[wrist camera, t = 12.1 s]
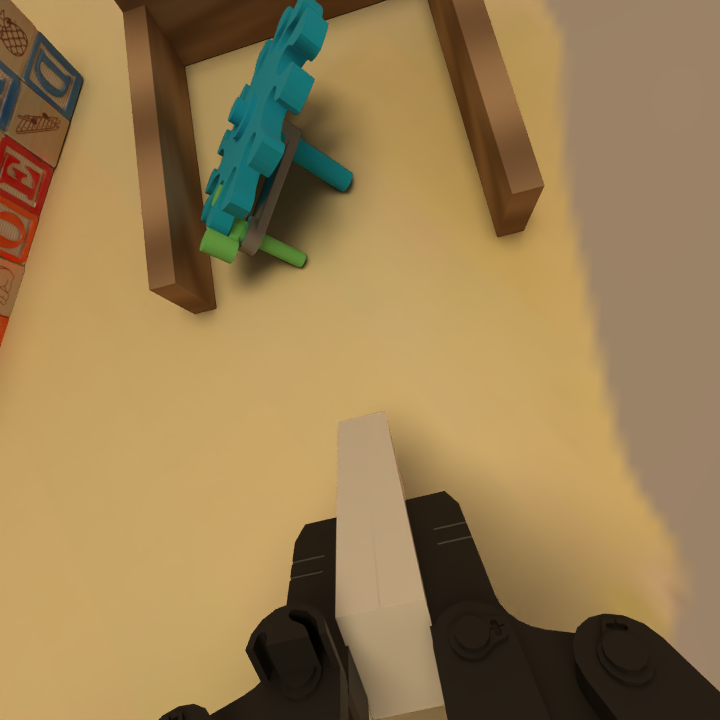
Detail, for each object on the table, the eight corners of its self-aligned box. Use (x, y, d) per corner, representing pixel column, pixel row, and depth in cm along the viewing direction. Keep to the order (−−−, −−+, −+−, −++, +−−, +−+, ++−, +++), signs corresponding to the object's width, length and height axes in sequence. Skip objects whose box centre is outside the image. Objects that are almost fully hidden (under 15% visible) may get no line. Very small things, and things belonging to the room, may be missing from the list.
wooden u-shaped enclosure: (523, 230, 19) (565, 139, 13) (194, 313, 21) (105, 266, 15) (440, -38, 23) (445, -203, 17) (163, 55, 24) (81, -65, 19)
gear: (243, 45, 22) (326, -88, 13) (336, 114, 25) (451, 43, 16) (169, 246, 22) (205, 241, 14) (271, 289, 25) (352, 306, 17)
